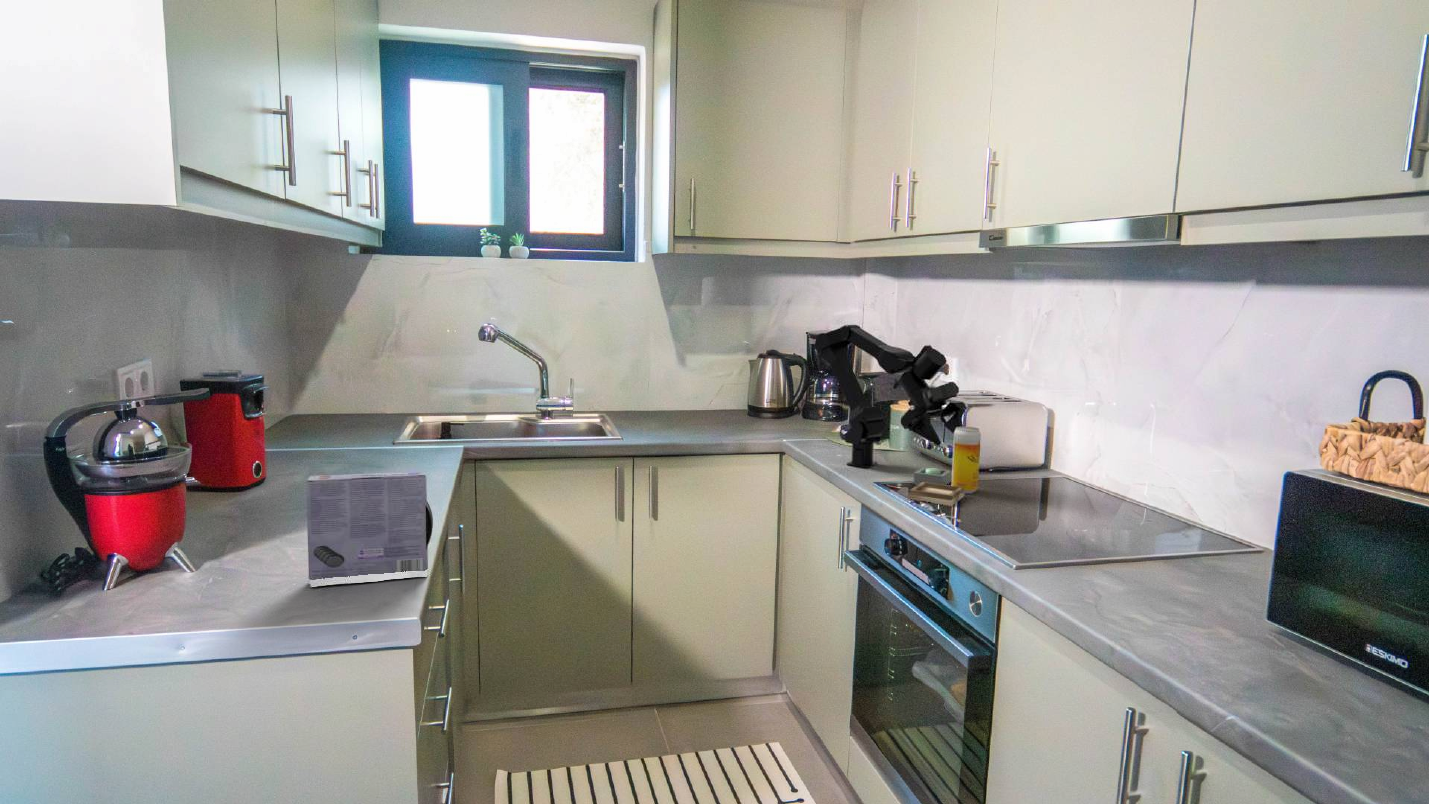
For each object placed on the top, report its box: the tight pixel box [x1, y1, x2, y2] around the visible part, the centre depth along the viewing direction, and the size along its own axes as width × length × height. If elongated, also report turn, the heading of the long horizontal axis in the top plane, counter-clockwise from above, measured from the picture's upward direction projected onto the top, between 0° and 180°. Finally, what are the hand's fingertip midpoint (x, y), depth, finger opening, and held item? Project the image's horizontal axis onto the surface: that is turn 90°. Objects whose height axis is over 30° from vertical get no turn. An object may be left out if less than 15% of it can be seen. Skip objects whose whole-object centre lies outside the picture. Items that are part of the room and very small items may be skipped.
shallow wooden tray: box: [907, 482, 965, 507], centre depth 198 cm, size 10×10×2 cm
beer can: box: [950, 426, 982, 494], centre depth 204 cm, size 6×6×15 cm
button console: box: [913, 467, 952, 486], centre depth 212 cm, size 7×7×3 cm
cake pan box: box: [306, 471, 434, 580], centre depth 142 cm, size 19×5×18 cm, turn 109°
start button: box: [925, 467, 942, 475], centre depth 211 cm, size 4×4×2 cm
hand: (952, 442), depth 207 cm, fingers open, 9 cm apart
